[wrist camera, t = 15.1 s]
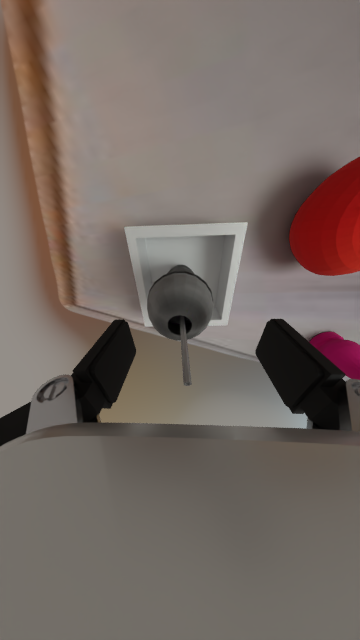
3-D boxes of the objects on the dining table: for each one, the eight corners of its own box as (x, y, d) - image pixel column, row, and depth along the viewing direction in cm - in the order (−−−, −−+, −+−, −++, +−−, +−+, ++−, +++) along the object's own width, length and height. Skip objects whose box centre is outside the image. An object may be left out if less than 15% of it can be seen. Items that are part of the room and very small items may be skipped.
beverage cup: (190, 247, 21) (221, 288, 5) (206, 286, 25) (257, 389, 8) (153, 268, 23) (79, 352, 7) (173, 301, 27) (158, 412, 10)
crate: (138, 229, 21) (124, 226, 16) (231, 225, 21) (247, 222, 16) (151, 310, 29) (144, 326, 24) (219, 309, 29) (227, 325, 24)
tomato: (351, 144, 16) (556, 32, 7) (365, 231, 21) (500, 227, 12) (262, 221, 20) (324, 210, 12) (290, 279, 25) (350, 303, 16)
